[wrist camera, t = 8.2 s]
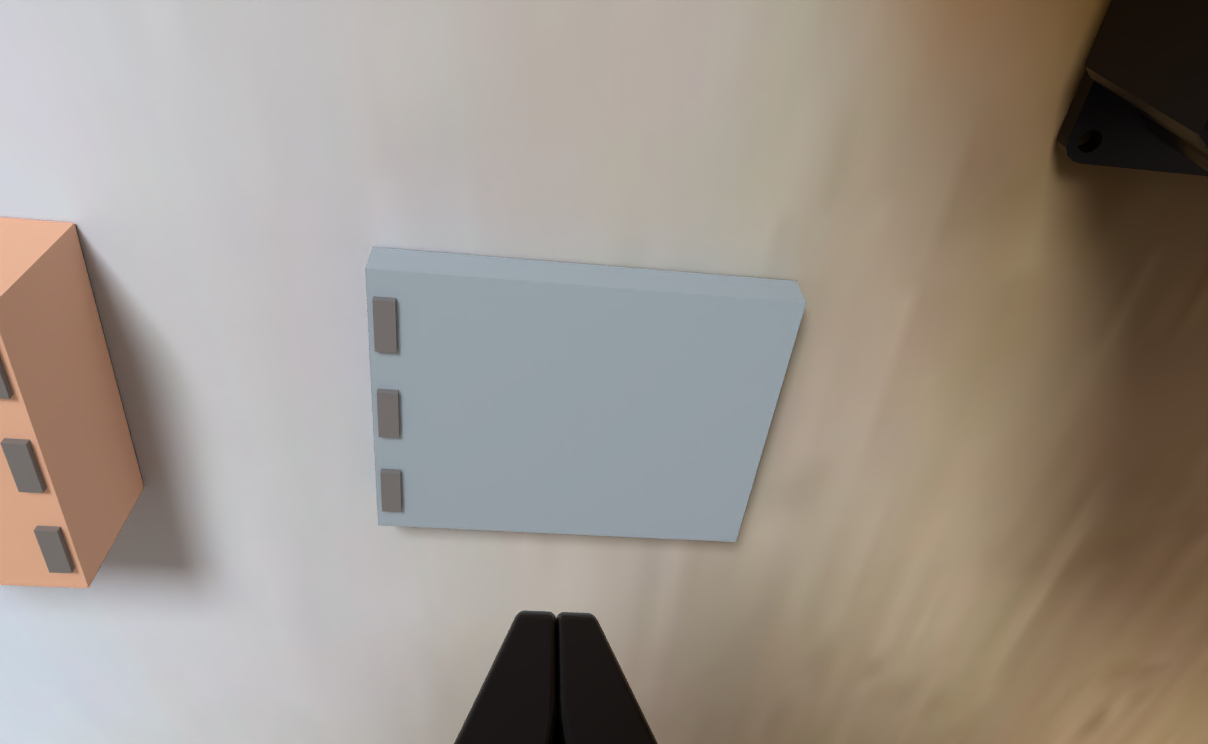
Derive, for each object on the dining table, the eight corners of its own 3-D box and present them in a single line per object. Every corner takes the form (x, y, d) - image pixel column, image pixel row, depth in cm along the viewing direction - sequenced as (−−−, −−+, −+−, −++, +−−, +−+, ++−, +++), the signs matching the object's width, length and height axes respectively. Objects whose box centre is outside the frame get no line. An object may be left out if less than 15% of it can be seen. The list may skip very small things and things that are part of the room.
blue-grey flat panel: (796, 281, 21) (807, 305, 20) (729, 516, 25) (736, 546, 24) (373, 247, 20) (363, 271, 19) (384, 499, 24) (377, 529, 23)
